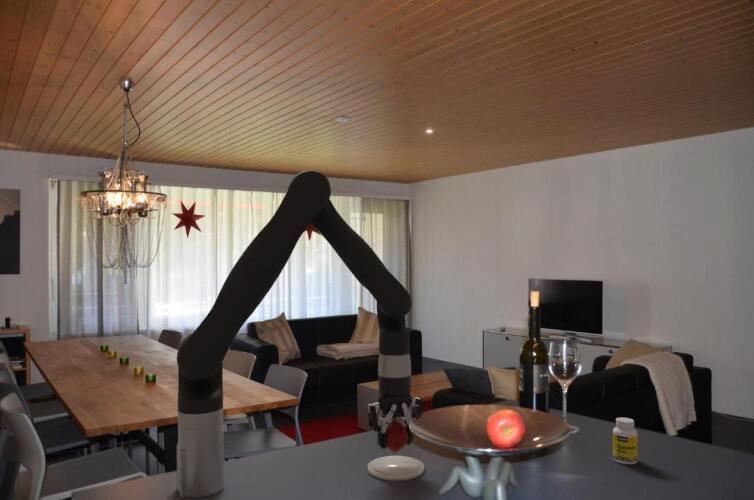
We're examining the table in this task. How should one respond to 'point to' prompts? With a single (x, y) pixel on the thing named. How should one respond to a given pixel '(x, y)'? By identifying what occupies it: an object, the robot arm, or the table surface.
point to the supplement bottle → (625, 441)
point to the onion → (396, 436)
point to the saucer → (395, 468)
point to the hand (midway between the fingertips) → (395, 445)
